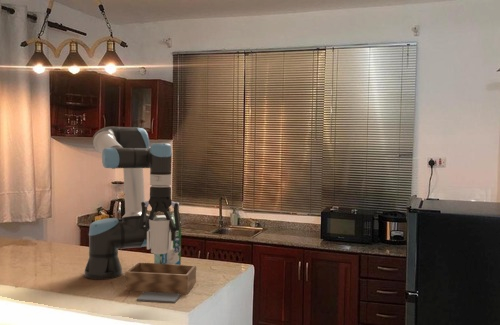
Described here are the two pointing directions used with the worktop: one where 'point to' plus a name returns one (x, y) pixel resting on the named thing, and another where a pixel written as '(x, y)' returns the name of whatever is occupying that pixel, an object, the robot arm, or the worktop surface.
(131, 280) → the crate
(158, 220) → the cup
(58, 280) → the worktop surface
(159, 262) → the milk carton
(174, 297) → the slate mat
